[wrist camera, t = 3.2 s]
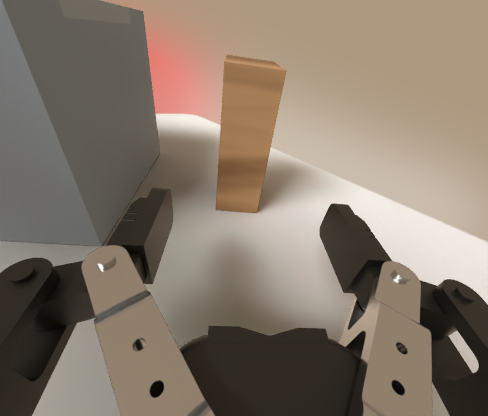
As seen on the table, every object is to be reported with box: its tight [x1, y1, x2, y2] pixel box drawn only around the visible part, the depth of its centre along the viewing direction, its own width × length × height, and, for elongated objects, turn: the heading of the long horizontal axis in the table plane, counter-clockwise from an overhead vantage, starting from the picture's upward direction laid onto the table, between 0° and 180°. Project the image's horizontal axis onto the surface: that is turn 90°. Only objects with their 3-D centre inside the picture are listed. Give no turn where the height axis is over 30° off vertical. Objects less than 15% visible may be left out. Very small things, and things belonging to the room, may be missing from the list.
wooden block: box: [216, 55, 286, 213], centre depth 20 cm, size 6×4×12 cm, turn 2°
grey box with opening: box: [0, 0, 160, 246], centre depth 17 cm, size 16×14×14 cm
